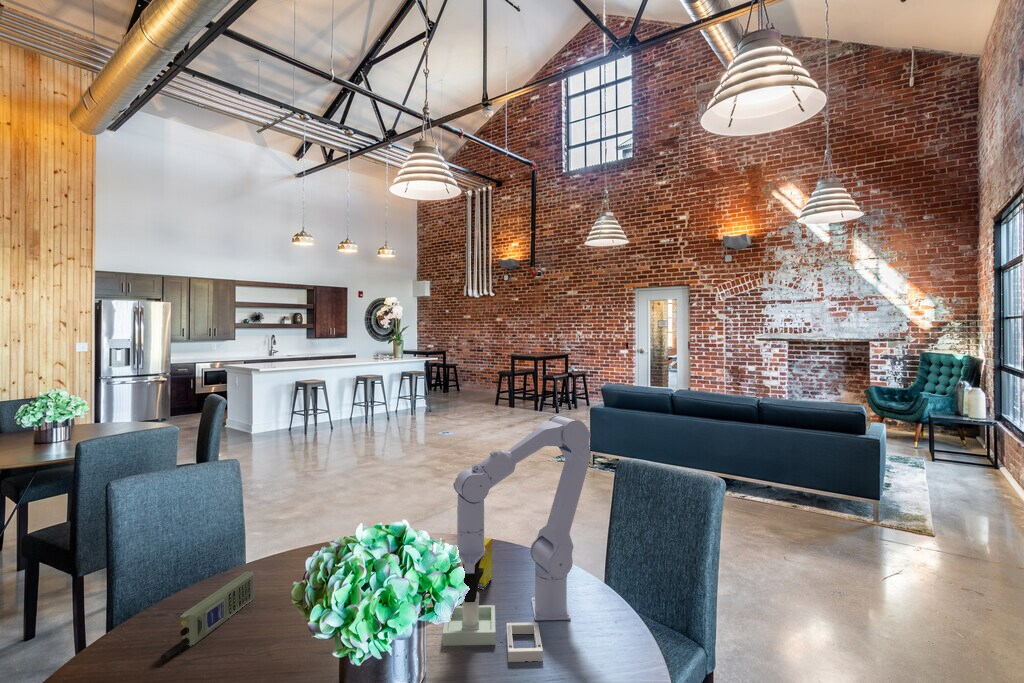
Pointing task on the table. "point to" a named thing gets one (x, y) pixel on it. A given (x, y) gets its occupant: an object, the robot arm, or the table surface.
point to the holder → (524, 653)
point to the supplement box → (486, 563)
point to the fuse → (471, 615)
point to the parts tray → (473, 637)
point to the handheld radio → (214, 611)
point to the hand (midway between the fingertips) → (470, 592)
